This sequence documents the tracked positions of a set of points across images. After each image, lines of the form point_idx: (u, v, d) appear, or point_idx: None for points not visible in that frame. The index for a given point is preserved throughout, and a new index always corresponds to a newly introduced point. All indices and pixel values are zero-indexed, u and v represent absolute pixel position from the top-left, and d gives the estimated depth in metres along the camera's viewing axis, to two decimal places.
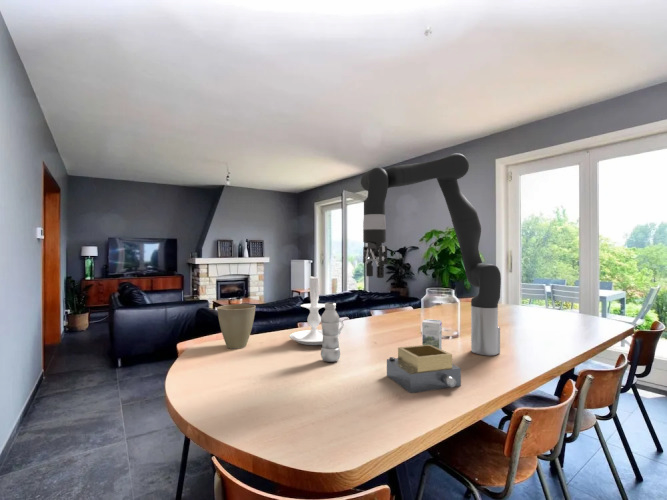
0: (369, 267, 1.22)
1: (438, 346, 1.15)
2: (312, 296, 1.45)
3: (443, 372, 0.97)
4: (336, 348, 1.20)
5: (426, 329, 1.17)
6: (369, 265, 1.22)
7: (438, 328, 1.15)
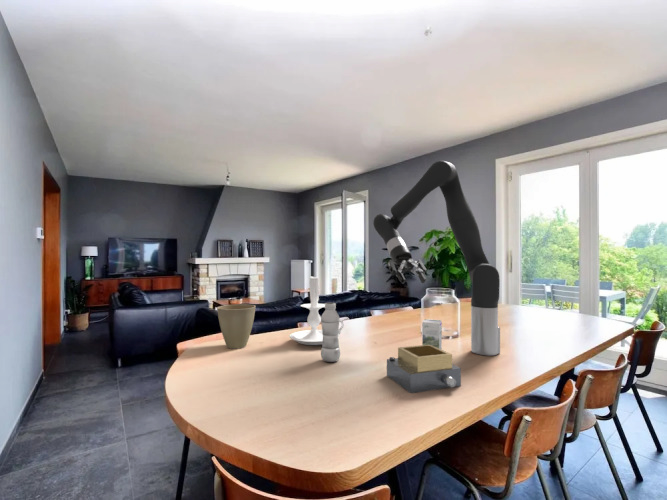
0: (419, 275, 1.33)
1: (438, 346, 1.15)
2: (312, 296, 1.45)
3: (443, 372, 0.97)
4: (336, 348, 1.20)
5: (426, 329, 1.17)
6: (419, 274, 1.34)
7: (438, 328, 1.15)
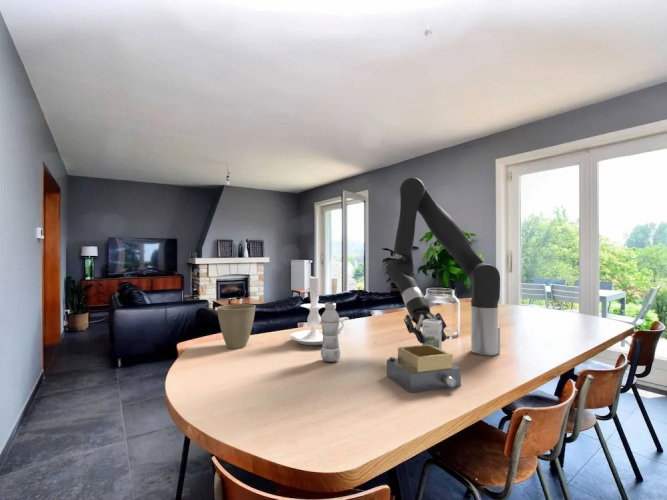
0: None
1: (438, 346, 1.15)
2: (312, 296, 1.45)
3: (443, 372, 0.97)
4: (336, 348, 1.20)
5: (426, 329, 1.17)
6: None
7: (438, 328, 1.15)
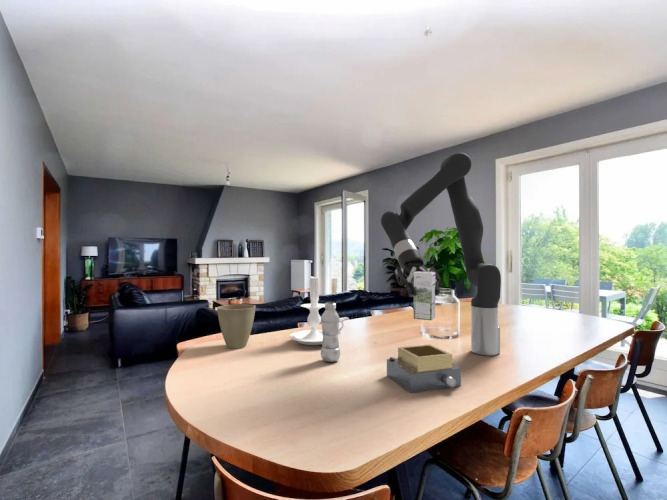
0: None
1: (430, 298, 1.05)
2: (312, 296, 1.45)
3: (443, 372, 0.97)
4: (336, 348, 1.20)
5: (418, 280, 1.07)
6: None
7: (431, 278, 1.05)
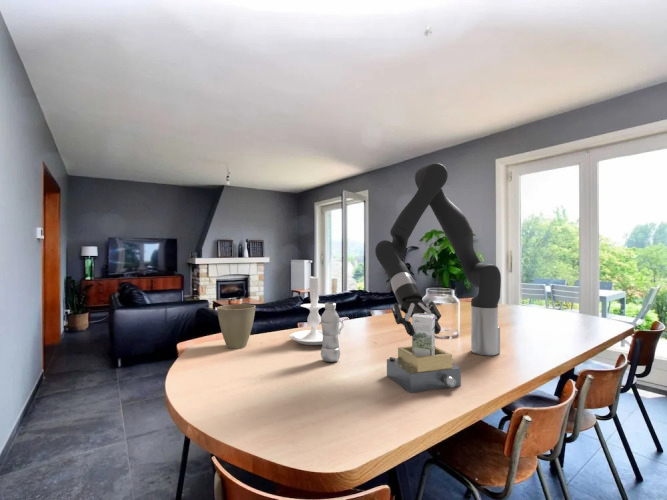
0: None
1: (430, 344, 0.99)
2: (312, 296, 1.45)
3: (443, 372, 0.97)
4: (336, 348, 1.20)
5: (417, 324, 1.00)
6: None
7: (430, 323, 0.99)
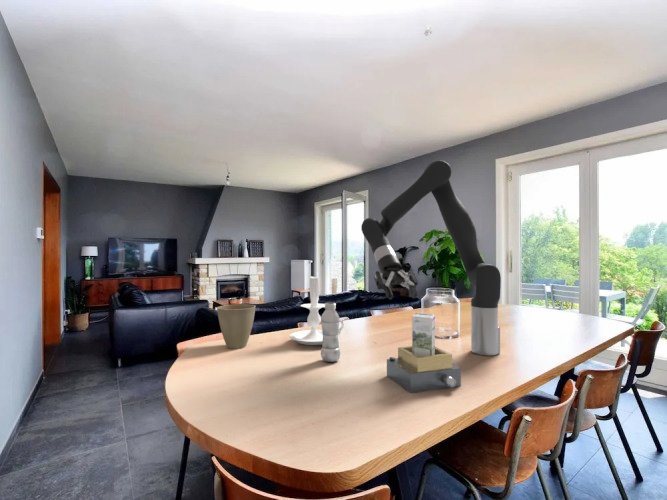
0: (410, 289, 1.17)
1: (430, 344, 0.99)
2: (312, 296, 1.45)
3: (443, 372, 0.97)
4: (336, 348, 1.20)
5: (417, 324, 1.00)
6: (409, 288, 1.17)
7: (430, 323, 0.99)
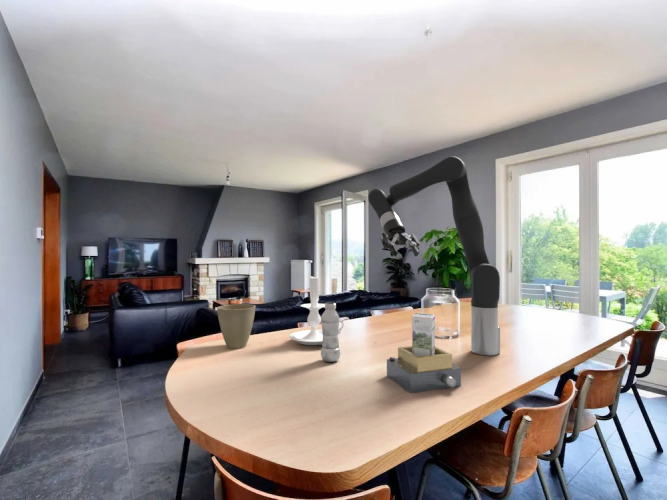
0: (413, 249, 1.31)
1: (430, 344, 0.99)
2: (312, 296, 1.45)
3: (443, 372, 0.97)
4: (336, 348, 1.20)
5: (417, 324, 1.00)
6: (412, 248, 1.31)
7: (430, 323, 0.99)
